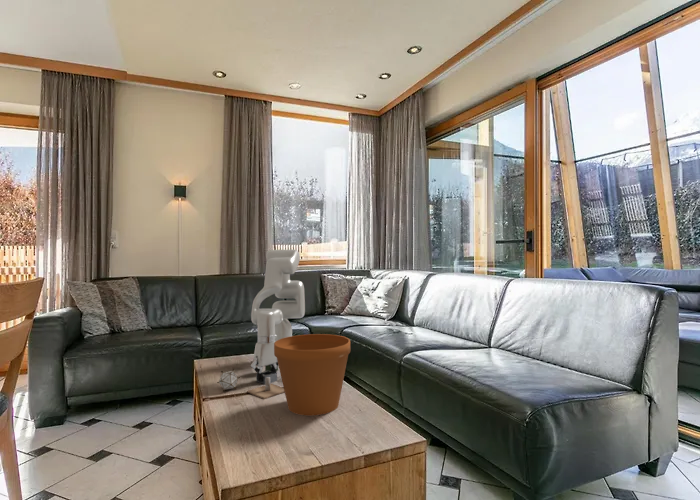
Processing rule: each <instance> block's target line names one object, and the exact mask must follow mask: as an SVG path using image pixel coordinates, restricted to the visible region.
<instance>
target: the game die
mask: <svg viewBox="0 0 700 500" xmlns="http://www.w3.org/2000/svg"><path fill="white" fill-rule="evenodd" d="M234 370H235V368H232V370H229V371H228V370H227V371H223V370H221V371H220V372H221V374H220V377H219V380H218V381H217V382H216V383H217V384H219V385H220V386H221V388H222V389H223V390H222V392H225V390H231V389H234V390H237V388H236V385H237V383H238V380H239V379H241V377H240V376H239V377H238V376H237V374H236V373H235V371H234Z"/></svg>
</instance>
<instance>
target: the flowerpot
mask: <svg viewBox="0 0 700 500" xmlns="http://www.w3.org/2000/svg"><path fill="white" fill-rule="evenodd" d="M351 351H352V350H351V339H350V338H348V337H346V336H342V335H337V334H328V333H326V334H325V333H322V334H321V333H315V334H314V333H313V334H312V333H311V334H308V333H307V334H300V335H298V334H297V335H292V336H291V337H286V338H282V339H279V340H277V341H276V342H275V343H274V355H275V357H277V361H278V371H279V374H280V379H281V381H282V383H281V384H282V386H283V388H284V391H285V393H284V395H285V399H286V403H287V408H288V410H289V411H290V412H291V413H293V414H295V415H300V416H307V417H310V416H321V415H322V416H323V415H325V414H329V413H332V412H334V411H335V410H336V409H338V407H339V404H340V399H341V394H342V387H343V384H344V378H345V375H346V374H345V373H346V368H347V362H348V358H349V354H350V353H351Z"/></svg>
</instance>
